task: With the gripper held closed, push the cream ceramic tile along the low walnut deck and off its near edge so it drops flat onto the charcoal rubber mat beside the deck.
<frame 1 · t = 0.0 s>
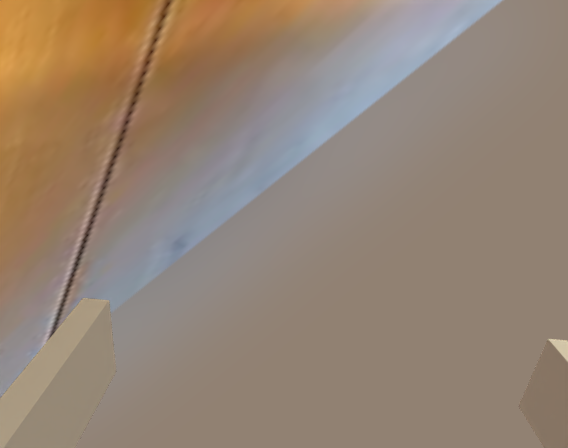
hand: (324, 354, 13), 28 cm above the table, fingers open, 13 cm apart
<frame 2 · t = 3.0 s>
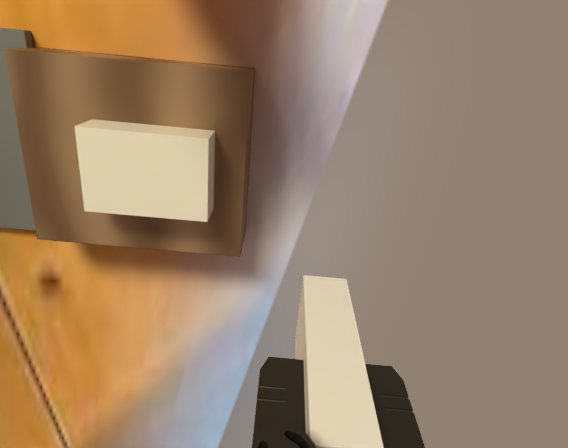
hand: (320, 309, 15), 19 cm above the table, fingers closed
ceramic tile: (155, 165, 28), point 4 cm above the table, touching walnut deck
walnut deck: (152, 148, 31), on the table
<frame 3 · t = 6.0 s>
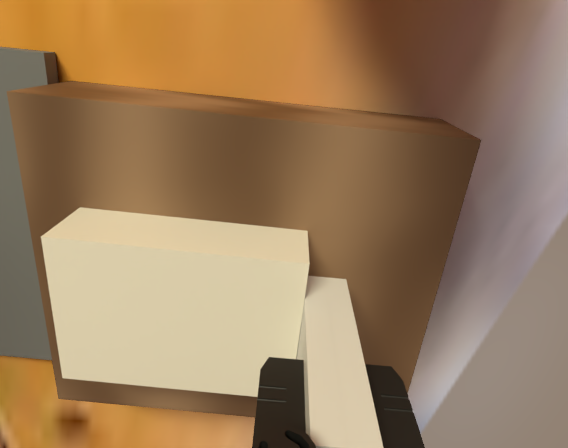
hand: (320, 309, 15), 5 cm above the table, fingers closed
ceramic tile: (193, 285, 15), point 4 cm above the table, touching walnut deck
walnut deck: (247, 243, 19), on the table
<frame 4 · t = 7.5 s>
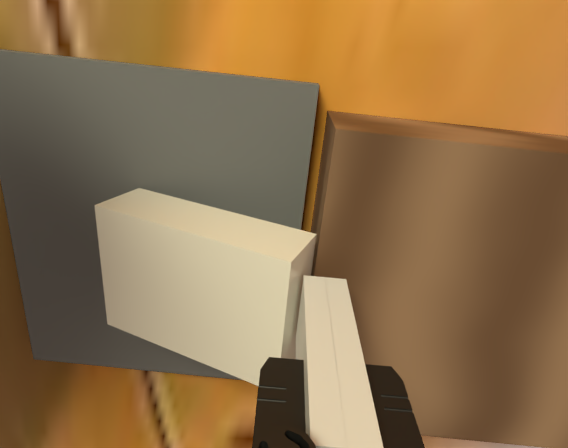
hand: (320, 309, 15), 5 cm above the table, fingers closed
charcoal mat: (159, 236, 19), on the table
ceramic tile: (219, 269, 17), point 2 cm above the table, tilted 22°, touching gripper
walnut deck: (465, 268, 19), on the table
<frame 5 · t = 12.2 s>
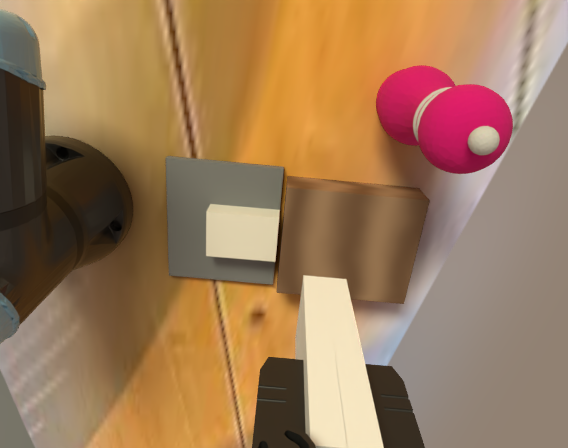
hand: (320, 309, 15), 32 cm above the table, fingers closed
charcoal mat: (223, 222, 49), on the table
ceramic tile: (244, 228, 48), point 1 cm above the table, touching charcoal mat
pepper mill: (405, 100, 43), on the table
walnut deck: (344, 233, 49), on the table
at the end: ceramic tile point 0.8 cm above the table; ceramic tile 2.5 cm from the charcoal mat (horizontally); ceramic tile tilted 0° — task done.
